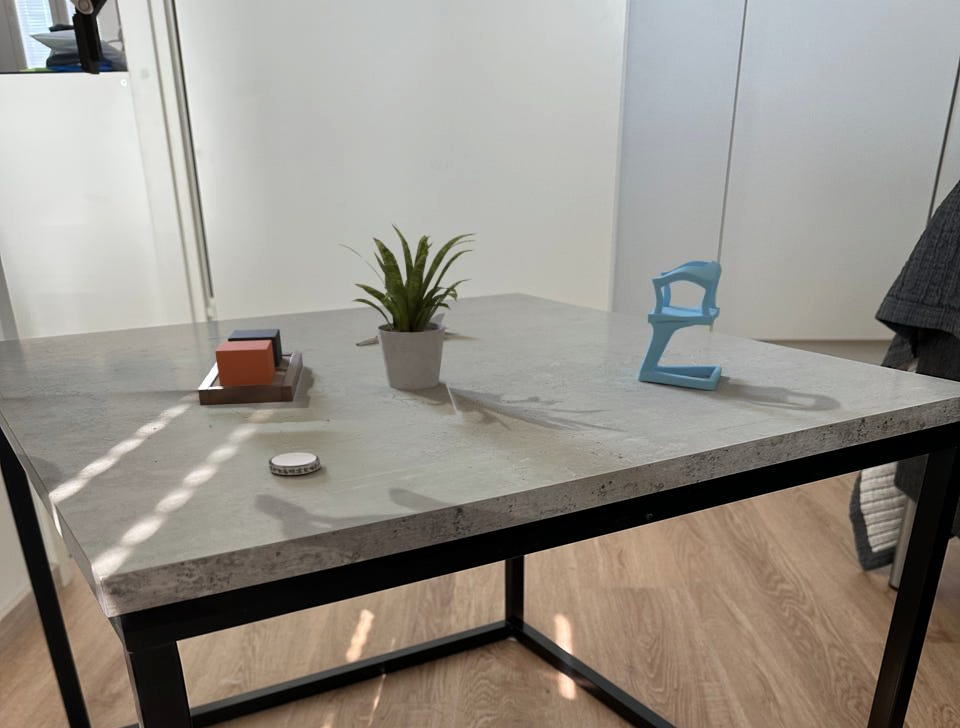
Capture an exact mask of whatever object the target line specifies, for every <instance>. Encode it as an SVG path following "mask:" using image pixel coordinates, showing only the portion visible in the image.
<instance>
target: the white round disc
mask: <svg viewBox="0 0 960 728" xmlns="http://www.w3.org/2000/svg"><path fill="white" fill-rule="evenodd" d="M320 459H321V458H320V456H319V455H317V454H315V453H310V452H289V453H288V452H287V453H282V454H278V455H275V456H272V457H271V458H269V460H268V470H269V471H270V472H271V473H273V474H277V475H284V476H285V475H286V476H292V475H293V476H294V475H303V474H307V473H311V472H315V471H316V470H318V469H319V468H320V467H321V460H320Z"/></svg>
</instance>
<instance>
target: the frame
mask: <svg viewBox="0 0 960 728" xmlns="http://www.w3.org/2000/svg"><path fill="white" fill-rule="evenodd" d="M282 356H283V357H290V360H289V363H288V366H287V367H275V372H285V375H284V378H283V380H282V383H280V384H279V383H278V384H256V385H230V386H213V384H214V383H215V381H216V379H217V378H219V374H218V367H217V362H216V363H215V364H214V365H213V367H212V368H211V370H210V372H209V373H208V375H207V376H205V379H204V380H203V382H202V383H201V385H200V386H199V387H198V389H197V393H198V399H199V400H198V401H199V406H201V407H202V406H224V405H247V404H250V405H251V404H271V403H293V402H294V400H295V396H296V392H297V389H298V385H299V382H300V379H301V375H302V372H303V368H304V362H303V352H300V351H299V352H282Z"/></svg>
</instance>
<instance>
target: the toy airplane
mask: <svg viewBox="0 0 960 728" xmlns="http://www.w3.org/2000/svg"><path fill="white" fill-rule="evenodd" d="M445 316H446V312H442V313H437V314H435V316H432V318H431V319H430V321H429V322H436V323H440V324H442V323H443V319H444V318H445ZM456 324H457V323H455V322H454V323H453V325H456ZM446 326H447V327H445V330H447V329H449V326H450V324H449V323H447V325H446ZM446 334H447V333H446V332H445V333H444V335H446ZM376 343H379V340H378V335H377V334H376V336H374V337H370V338H366V339H364V340H361V341H359V342H357V343H355V346H356V347H357V346H358V347H359V346H365V345H372V344H376Z"/></svg>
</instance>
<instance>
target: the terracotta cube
mask: <svg viewBox="0 0 960 728" xmlns="http://www.w3.org/2000/svg"><path fill="white" fill-rule="evenodd" d="M214 353H215V359H216V363H217V367H218V374H219V375H218V380H219V387H224V386H249V385H272V383H273V381H274V378H275V375H276V371H275V368H276V367H275V366H274V358H273V349H272V341H271V340H260V341H231V342H228V341H222V342H220V343H219V345H218V347H217V348H216V350H215V352H214Z"/></svg>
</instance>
